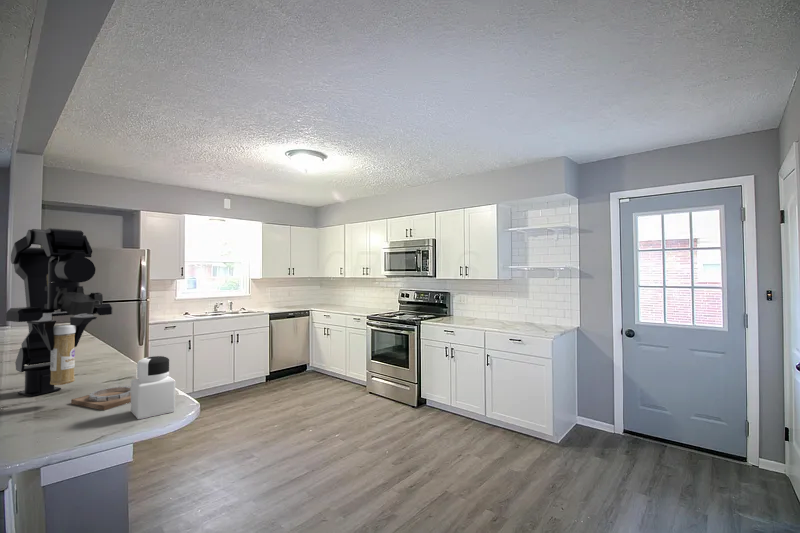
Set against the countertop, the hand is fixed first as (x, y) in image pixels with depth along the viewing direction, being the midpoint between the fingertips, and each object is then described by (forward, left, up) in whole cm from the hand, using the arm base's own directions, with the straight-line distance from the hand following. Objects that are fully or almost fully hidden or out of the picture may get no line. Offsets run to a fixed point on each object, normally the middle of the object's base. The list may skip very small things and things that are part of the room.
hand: (62, 348), depth 93 cm
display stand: (+7, +7, -13) cm, 16 cm away
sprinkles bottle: (0, 0, -8) cm, 8 cm away
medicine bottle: (+24, +5, -13) cm, 28 cm away
